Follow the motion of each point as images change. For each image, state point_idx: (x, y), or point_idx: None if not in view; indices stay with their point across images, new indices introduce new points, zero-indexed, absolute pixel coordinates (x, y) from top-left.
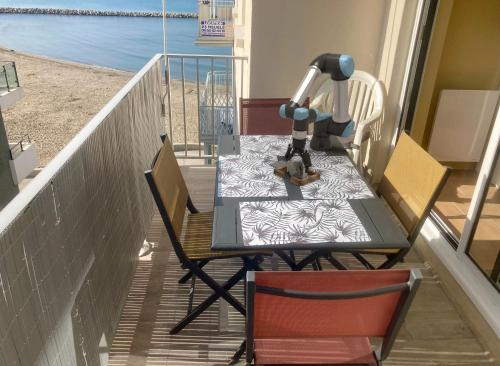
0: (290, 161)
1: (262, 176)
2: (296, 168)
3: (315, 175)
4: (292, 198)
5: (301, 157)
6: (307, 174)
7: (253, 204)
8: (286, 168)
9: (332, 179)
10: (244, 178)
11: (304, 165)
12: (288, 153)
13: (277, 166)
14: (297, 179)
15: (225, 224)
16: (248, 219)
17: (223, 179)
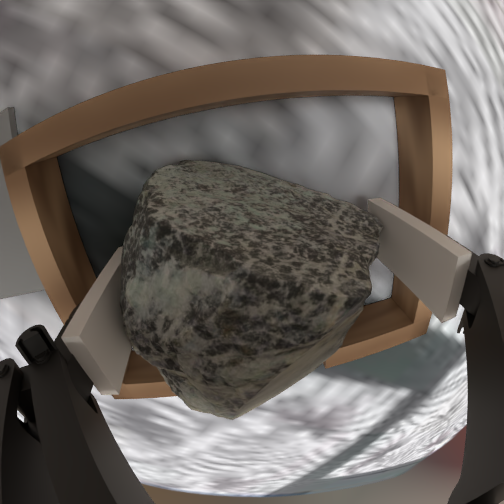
0: (100, 353)
1: (145, 417)
2: (333, 353)
3: (446, 141)
4: (433, 380)
5: (471, 458)
6: (276, 98)
7: (358, 461)
8: (73, 269)
9: (443, 14)
10: (150, 458)
11: (468, 335)
12: (43, 479)
13: (1, 278)
14: (395, 341)
15: (372, 479)
16: (394, 460)
17: (144, 480)
